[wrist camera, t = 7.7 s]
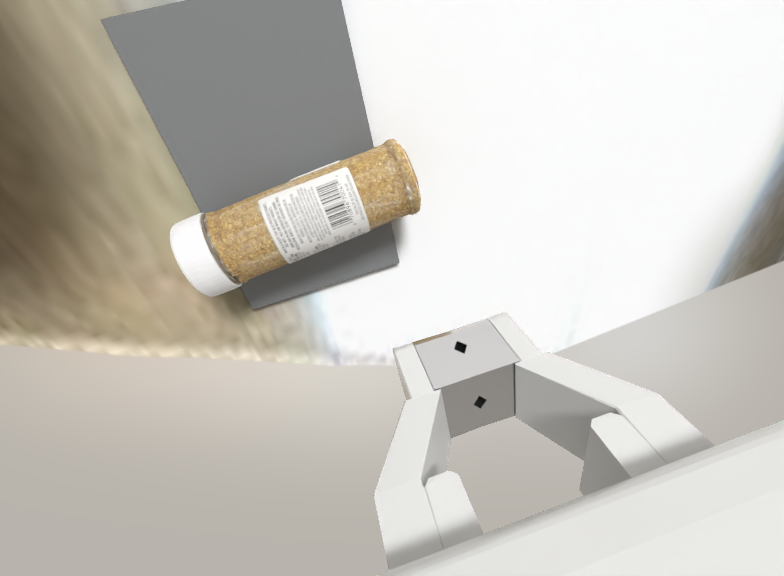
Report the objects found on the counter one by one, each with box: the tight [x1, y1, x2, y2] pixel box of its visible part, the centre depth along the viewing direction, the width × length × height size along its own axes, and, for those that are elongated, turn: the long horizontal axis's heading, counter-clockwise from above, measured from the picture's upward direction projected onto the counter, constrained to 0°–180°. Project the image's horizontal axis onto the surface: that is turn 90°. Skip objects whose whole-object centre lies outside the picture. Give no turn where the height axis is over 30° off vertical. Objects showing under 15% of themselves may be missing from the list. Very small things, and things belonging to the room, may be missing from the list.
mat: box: [101, 0, 399, 310], centre depth 23 cm, size 11×17×1 cm, turn 12°
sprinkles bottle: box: [170, 139, 421, 297], centre depth 22 cm, size 5×5×14 cm
